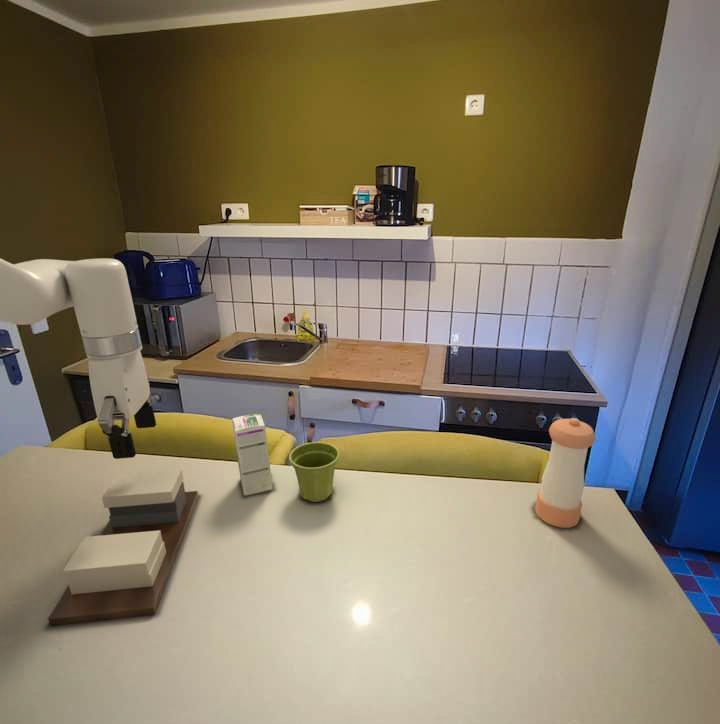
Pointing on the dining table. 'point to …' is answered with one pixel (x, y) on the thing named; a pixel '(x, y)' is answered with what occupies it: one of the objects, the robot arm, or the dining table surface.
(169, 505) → the grey stack
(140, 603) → the shelf board
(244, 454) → the syrup box
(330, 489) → the plant pot
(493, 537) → the dining table surface
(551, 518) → the pepper shaker
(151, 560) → the white stack
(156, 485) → the white book
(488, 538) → the dining table surface
